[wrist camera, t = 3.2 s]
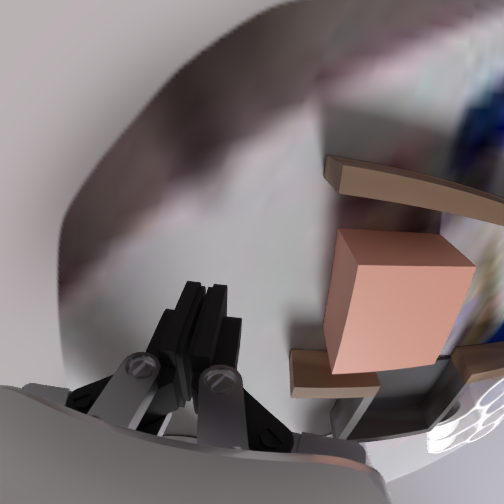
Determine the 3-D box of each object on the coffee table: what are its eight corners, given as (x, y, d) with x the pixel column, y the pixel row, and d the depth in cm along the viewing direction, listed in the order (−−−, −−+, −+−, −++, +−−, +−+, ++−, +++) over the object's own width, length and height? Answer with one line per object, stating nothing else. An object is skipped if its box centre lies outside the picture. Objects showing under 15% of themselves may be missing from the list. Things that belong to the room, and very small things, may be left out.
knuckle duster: (419, 396, 23) (524, 331, 19) (425, 447, 29) (504, 402, 26) (429, 421, 20) (539, 349, 16) (430, 464, 26) (511, 417, 23)
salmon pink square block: (411, 321, 19) (434, 364, 14) (322, 324, 19) (331, 374, 15) (438, 232, 15) (476, 266, 11) (336, 227, 16) (358, 264, 12)
